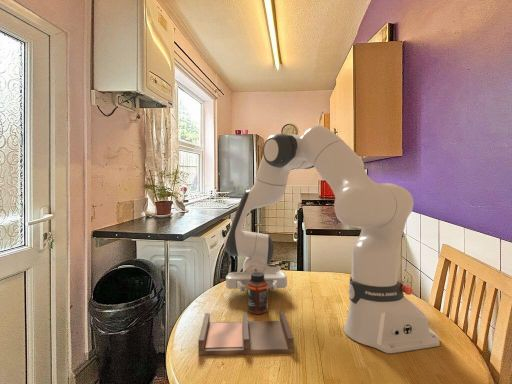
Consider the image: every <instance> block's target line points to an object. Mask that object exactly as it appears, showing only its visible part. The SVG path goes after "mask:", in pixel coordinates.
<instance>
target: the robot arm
mask: <svg viewBox="0 0 512 384" xmlns="http://www.w3.org/2000/svg"><path fill="white" fill-rule="evenodd" d="M262 147H263V148H262V154H263V155H262V158H261V160H260V163H259V166H258V169H257V173H256V179H255V182H254V184H253V185H252V187H250V189H246V190H245V192H243V195H242V196H241V199H240V202H239V203H238V206H237V208H236V212H235V213H234V214H235V215H234V217H233V220H232V223H231V225H230V227H229V230H228V231H227V233H226V235H225V237H224V242H223V247H224V250H225V252H226V253H227V254H228V255H229V256H230V257H243V258H245V259H244V260H243V264H242V271H231V272H229V273H228V274H227V275H226V276H225V287H226V288H227V289H228V290H237V289H238V290H239V292H246V290H248V282H249V281H250V280H251V274H252V273H254V272H261V273H264V279H265V280H266V281H267V289H269V290H270V291H271V292H272V291H274V292H275V291H276V289H286V288H287V286H288V276H287V274H286V272H285V271H284V270H282V269H281V268H280V266H279V265H275V264H270V263H271V261H273V260H272V259H273V256H274V241H273V239H272V237H271V236H270V235H269V233H261V232H254V231H248V230H243V229H242V228H243V226H244V223H245V221H246V218H247V216H248V214H249V212H251V211H253V210H255V209H258V208H262V207H269V206H272V205H274V204H276V203H278V202H279V201H280V200H282V198H283V197H284V195H285V192H286V188H287V183H288V179H289V173H290V172H291V170H302V169H303V170H310V169H316V171H317V172H318V173H319V175H321V177H322V178H323V179H324V181H325V182H326V183H327V184H328V185H329V187H330V189H331V190H332V192H333V195H334V198H335V199H334V203H333V206H334V207H333V209H334V213H335V216H336V218H337V219H338V221H339V222H340V223H341V224H342V225H344V226H346V227H350V228H355V229H361V230H360V234H359V236H358V238H357V240H356V242H354V245H353V246H352V250H351V275H350V277H349V285H348V297H349V306H348V311H347V312H348V313H347V315H346V321H345V324H344V326H343V331H344V333H345V334H346V336H347V337H348V338H350V339H352V340H353V341H355V342H357V343H359V344H362V345H365V346H369V347H372V348H375V349H377V350H379V351H381V352H384V353H386V354H396V353H404V352H409V351H416V350H422V349H428V348H433V347H434V348H435V347H439V346H440V344H441V341H440V338H439V336H438V335H437V334H436V333H435V331H434V330H432V328H430V326H429V321H428V318H427V316H426V314H425V313H424V312H423V310H422V309H420V307H418V306H417V305H416V304H415V303H413V302H412V301H411V300H409V298H407V297H406V296H405V295H408V296H410V295H412V294H413V293H414V288H412V287H411V286H409V285H408V284H404V283H402V282H400V281H399V280H398V273H399V271H398V270H399V254H400V253H399V252H400V246H401V242H402V239H403V238H402V237H403V234H404V231H405V227H406V223H407V220H408V218H409V216H410V215H411V213H412V212H413V209H414V203H415V202H414V198H413V196H412V194H411V193H410V191H409V190H407V189H406V188H404V187H403V186H400V185H397V184H395V183H393V182H392V183H390V182H387V183H386V182H385V183H382V182H381V183H378V182H376V181H374V180H372V179H371V178H370V177H369V175H368V174H367V172H366V170H365V169H364V167H365V163H364V160H363V159H362V157H360V156H359V155H358V154H357V152H355V151H354V150H353V149H352V148H351V147H350V146H349V145H348V144H347V142H345V141H344V140H343V139H342V138H341V137H340V136H339V135H337V134H336V133H335V132H333V131H331V130H330V129H329V128H327V127H326V126H323V125H314V126H311V127H309V128H308V129H307V130H306V131H305V132H304V134H303V135H300V134H294V133H290V134H288V133H287V134H286V133H277V134H276V133H275V134H271V135H269V137H267V139H266V140H265V142H264V144H263V146H262ZM404 293H405V294H404Z"/></svg>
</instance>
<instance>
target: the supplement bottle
mask: <svg viewBox="0 0 512 384" xmlns="http://www.w3.org/2000/svg"><path fill="white" fill-rule="evenodd" d="M247 311H248V312H249V313H251V314H253V315H262V314H265V313H266V312H267V311H268V288H267V281H266V280H265V279H264V273H261V272H254V273H252V274H251V280H250V281H249V282H248V289H247Z"/></svg>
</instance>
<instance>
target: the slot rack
mask: <svg viewBox="0 0 512 384" xmlns="http://www.w3.org/2000/svg"><path fill="white" fill-rule="evenodd" d="M210 315H211V313H210V312H208V313H207V312H206V313H205V312H204V317H203V320H202V325H201V329H200V333H199V336H198V341H197V342H198V345H197V346H198V353H197V355H198V356H225V355H226V356H228V355H230V356H231V355H263V354H264V355H266V354H269V355H270V354H273V355H274V354H294V336H293V334H292V330H291V328H290V324H289V321H288V319H287V318H288V317H287V315H286V313H285V311H279V320H261V321H260V320H258V321H257V320H255V321H254V320H252V321H251V320H250V321H248V320H249V319H248V318H249V317H248V312H242V321H210V320H211V319H210Z"/></svg>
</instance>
